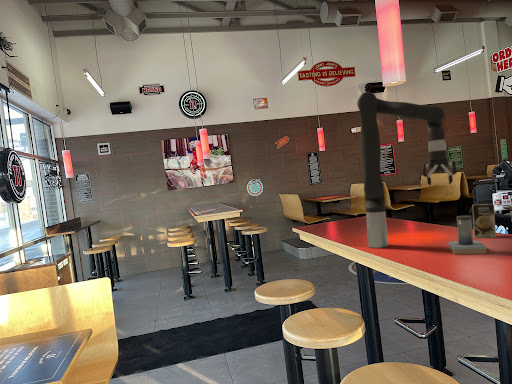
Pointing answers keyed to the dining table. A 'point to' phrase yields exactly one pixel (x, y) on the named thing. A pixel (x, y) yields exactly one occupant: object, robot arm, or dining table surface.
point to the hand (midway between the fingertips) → (440, 184)
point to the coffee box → (484, 221)
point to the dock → (467, 248)
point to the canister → (464, 230)
